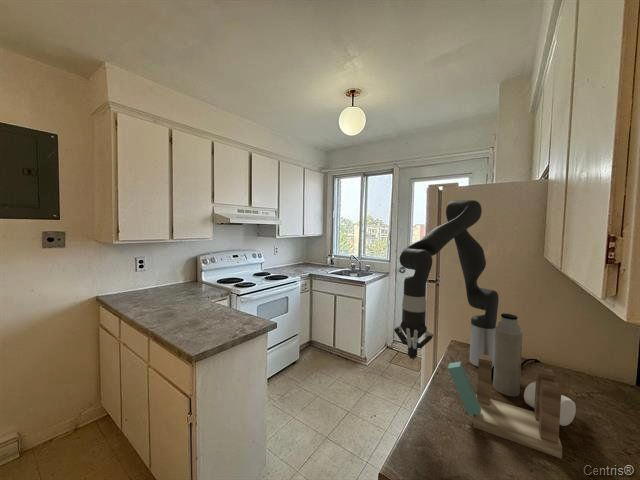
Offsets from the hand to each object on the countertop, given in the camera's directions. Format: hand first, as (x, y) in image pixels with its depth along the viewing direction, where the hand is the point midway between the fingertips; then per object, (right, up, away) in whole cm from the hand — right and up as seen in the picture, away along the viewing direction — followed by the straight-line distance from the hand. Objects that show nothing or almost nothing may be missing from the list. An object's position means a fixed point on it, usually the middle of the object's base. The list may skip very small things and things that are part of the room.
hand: (412, 357), depth 90 cm
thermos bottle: (+37, -15, +7) cm, 41 cm away
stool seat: (+26, -16, -11) cm, 32 cm away
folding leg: (+16, -13, -10) cm, 22 cm away
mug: (+44, -16, -5) cm, 47 cm away
